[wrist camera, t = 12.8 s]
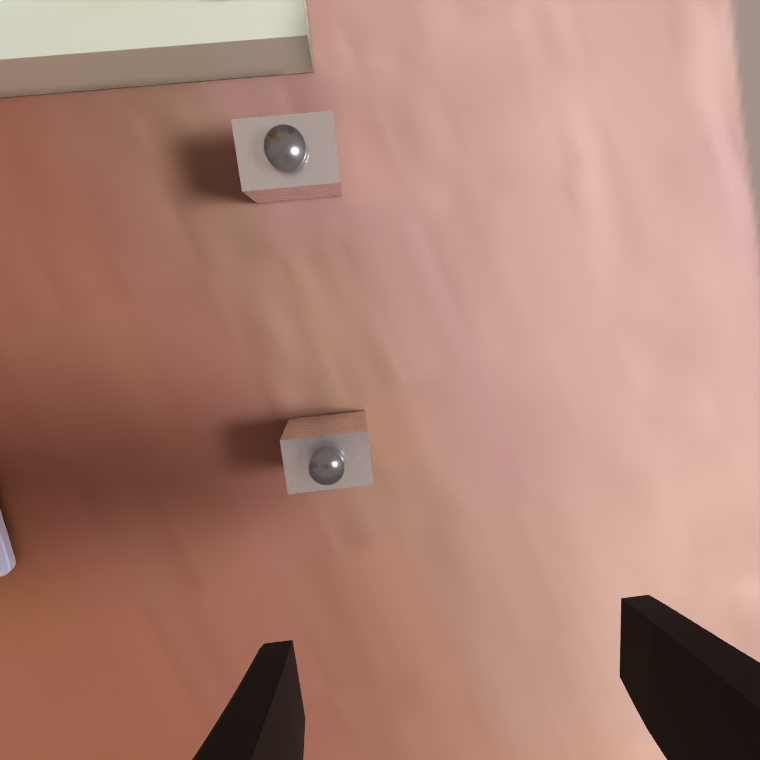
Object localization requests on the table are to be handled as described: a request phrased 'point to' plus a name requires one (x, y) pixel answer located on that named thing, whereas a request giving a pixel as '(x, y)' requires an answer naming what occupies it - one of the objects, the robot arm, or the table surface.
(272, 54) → the parts tray
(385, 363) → the table surface
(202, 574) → the table surface
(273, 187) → the blocks with metal balls
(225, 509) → the table surface
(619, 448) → the table surface
